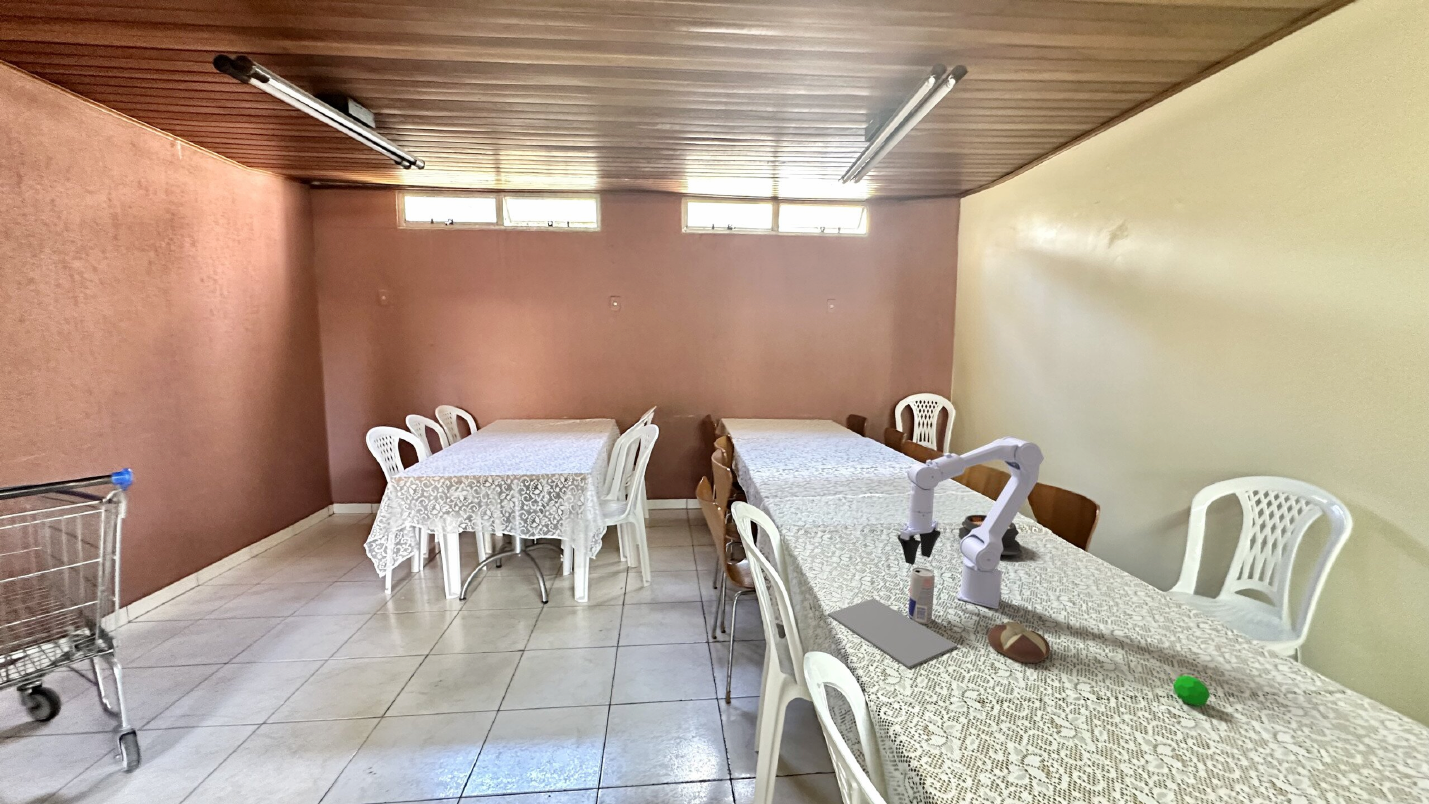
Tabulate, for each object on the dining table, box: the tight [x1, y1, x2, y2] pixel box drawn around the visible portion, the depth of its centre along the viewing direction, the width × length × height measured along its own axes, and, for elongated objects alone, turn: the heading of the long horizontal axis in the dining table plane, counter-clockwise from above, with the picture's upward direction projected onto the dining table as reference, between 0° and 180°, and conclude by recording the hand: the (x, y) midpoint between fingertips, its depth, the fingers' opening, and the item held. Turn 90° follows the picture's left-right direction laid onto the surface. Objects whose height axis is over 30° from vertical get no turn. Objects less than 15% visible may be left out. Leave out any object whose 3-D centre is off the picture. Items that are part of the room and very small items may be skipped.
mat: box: [827, 598, 958, 670], centre depth 120 cm, size 16×24×1 cm, turn 30°
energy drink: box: [907, 567, 936, 625], centre depth 125 cm, size 5×5×12 cm
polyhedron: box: [1172, 675, 1211, 707], centre depth 97 cm, size 5×5×5 cm
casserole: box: [958, 514, 1023, 556], centre depth 174 cm, size 25×19×8 cm
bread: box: [987, 621, 1051, 664], centre depth 114 cm, size 11×11×5 cm
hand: (917, 559), depth 136 cm, fingers open, 7 cm apart
